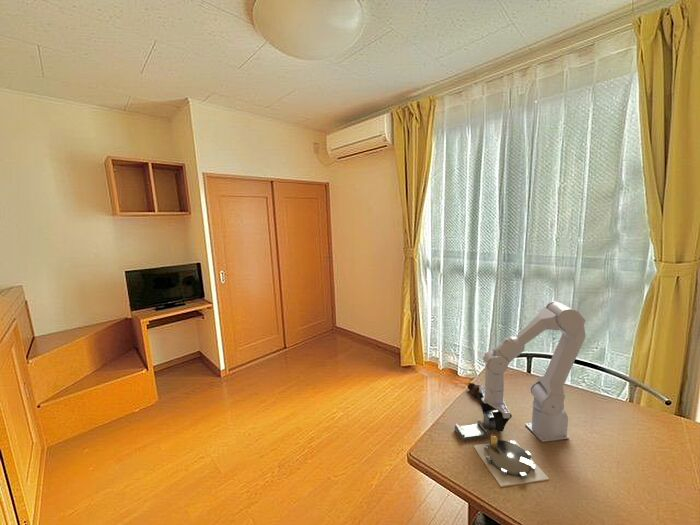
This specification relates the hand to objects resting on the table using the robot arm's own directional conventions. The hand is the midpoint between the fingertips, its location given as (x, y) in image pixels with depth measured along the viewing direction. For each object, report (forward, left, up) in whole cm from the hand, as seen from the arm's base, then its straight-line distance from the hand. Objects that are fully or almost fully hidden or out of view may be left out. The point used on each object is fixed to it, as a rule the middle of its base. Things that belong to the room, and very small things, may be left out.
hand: (492, 423), depth 99 cm
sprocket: (+4, +14, -1) cm, 15 cm away
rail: (+9, +2, -1) cm, 9 cm away
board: (+4, +14, -1) cm, 15 cm away
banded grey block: (0, 0, -2) cm, 2 cm away
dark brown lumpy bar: (-5, -14, -2) cm, 15 cm away
